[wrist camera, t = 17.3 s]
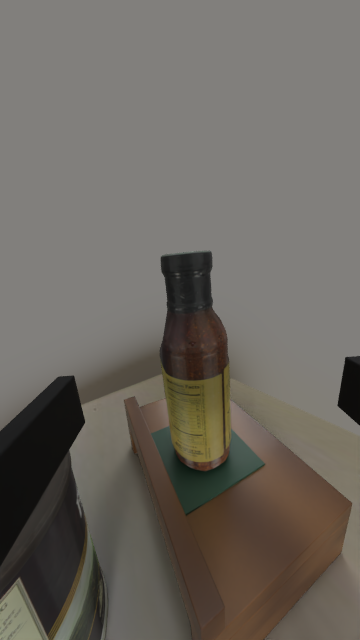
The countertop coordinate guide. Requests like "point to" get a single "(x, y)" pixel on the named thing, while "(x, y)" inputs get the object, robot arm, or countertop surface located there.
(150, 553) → the countertop surface
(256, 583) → the brown wooden box
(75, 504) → the large food can
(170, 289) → the sauce bottle
